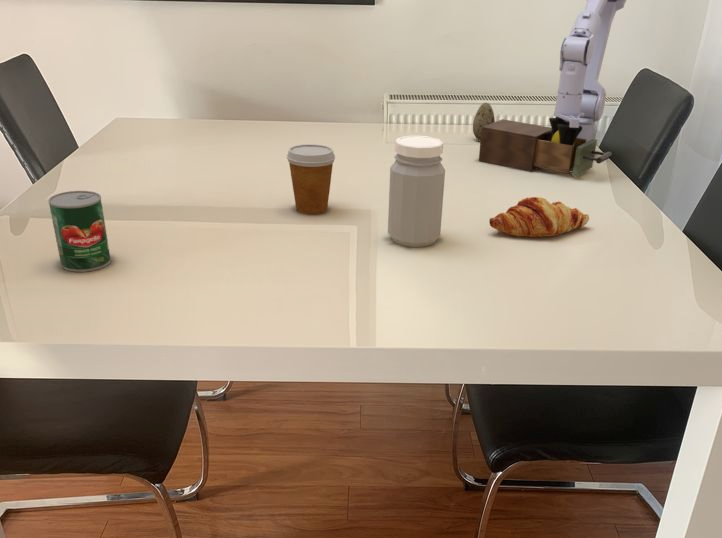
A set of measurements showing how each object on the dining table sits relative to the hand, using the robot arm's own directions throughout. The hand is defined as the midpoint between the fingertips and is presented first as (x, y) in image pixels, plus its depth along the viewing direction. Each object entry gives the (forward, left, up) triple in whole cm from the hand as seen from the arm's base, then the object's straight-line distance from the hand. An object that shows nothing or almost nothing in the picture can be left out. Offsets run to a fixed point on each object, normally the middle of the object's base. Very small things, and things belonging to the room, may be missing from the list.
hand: (561, 152), depth 182 cm
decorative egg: (-14, -28, -5) cm, 32 cm away
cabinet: (0, -12, -5) cm, 13 cm away
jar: (+62, -3, -5) cm, 62 cm away
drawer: (0, +2, -4) cm, 4 cm away
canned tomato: (+106, -40, -5) cm, 113 cm away
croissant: (+43, +14, -5) cm, 45 cm away
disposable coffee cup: (+61, -28, -5) cm, 67 cm away
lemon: (0, 0, -2) cm, 2 cm away
